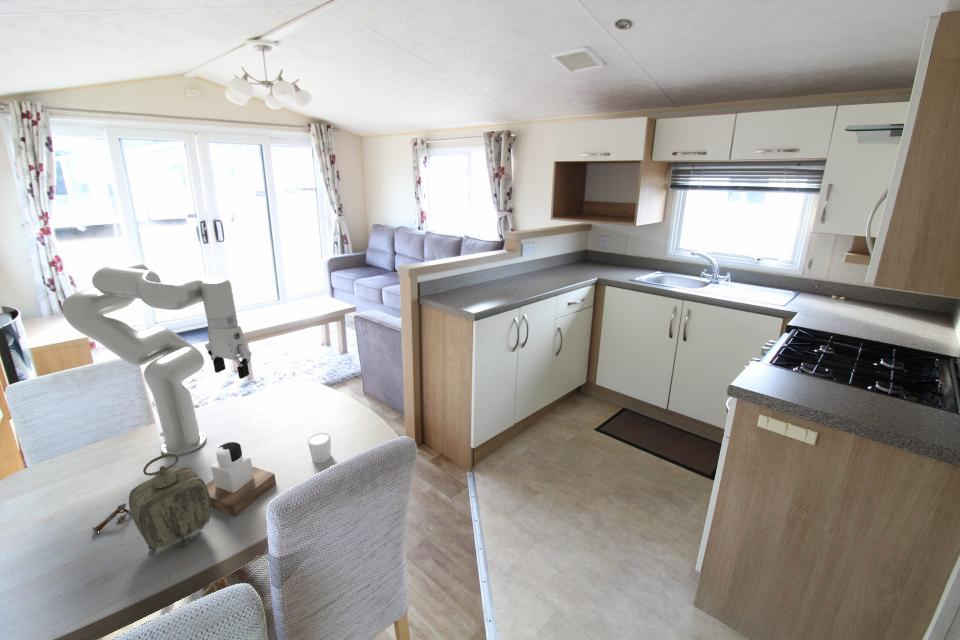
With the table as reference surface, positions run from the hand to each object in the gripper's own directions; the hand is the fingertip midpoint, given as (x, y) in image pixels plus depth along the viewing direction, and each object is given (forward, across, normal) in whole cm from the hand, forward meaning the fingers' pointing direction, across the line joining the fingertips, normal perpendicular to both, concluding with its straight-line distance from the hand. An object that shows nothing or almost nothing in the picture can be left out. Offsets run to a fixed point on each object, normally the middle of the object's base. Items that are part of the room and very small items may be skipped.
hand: (232, 373), depth 135 cm
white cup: (+28, -24, -7) cm, 38 cm away
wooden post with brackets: (+29, +7, +36) cm, 46 cm away
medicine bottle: (+25, -13, +15) cm, 32 cm away
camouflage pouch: (+28, -15, +33) cm, 46 cm away
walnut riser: (+28, -13, +15) cm, 35 cm away
